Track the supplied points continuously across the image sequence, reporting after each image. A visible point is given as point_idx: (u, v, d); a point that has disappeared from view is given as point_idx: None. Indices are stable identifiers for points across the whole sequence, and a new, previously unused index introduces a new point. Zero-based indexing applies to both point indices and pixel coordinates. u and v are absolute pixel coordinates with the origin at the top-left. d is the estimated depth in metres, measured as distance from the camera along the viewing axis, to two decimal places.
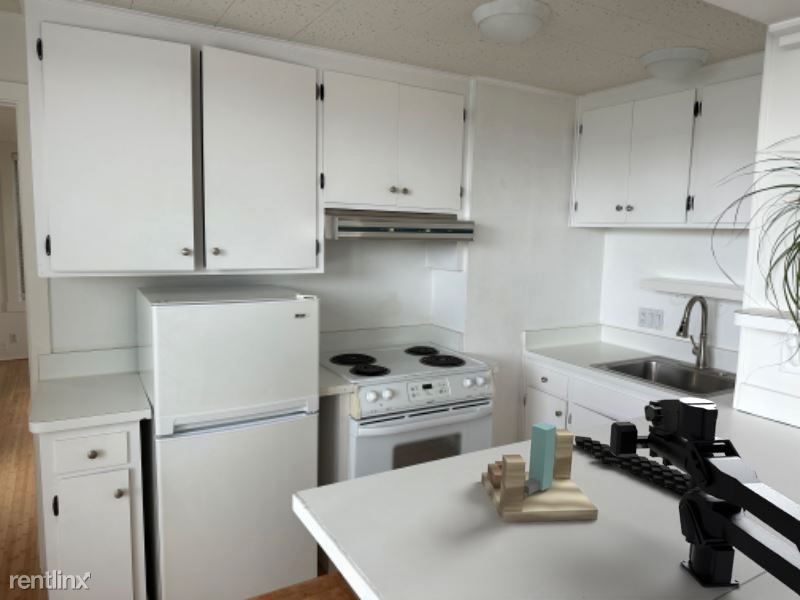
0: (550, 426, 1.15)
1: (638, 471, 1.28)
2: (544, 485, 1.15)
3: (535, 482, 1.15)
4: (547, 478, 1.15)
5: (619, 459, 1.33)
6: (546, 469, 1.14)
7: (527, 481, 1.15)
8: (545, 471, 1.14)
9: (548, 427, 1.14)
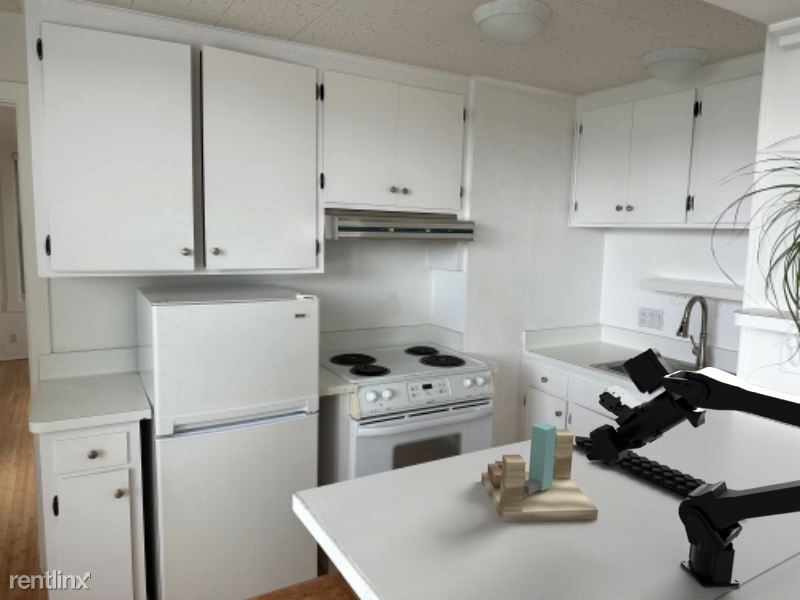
0: (550, 426, 1.15)
1: (638, 471, 1.28)
2: (544, 485, 1.15)
3: (535, 482, 1.15)
4: (547, 478, 1.15)
5: None
6: (546, 469, 1.14)
7: (527, 481, 1.15)
8: (545, 471, 1.14)
9: (548, 427, 1.14)
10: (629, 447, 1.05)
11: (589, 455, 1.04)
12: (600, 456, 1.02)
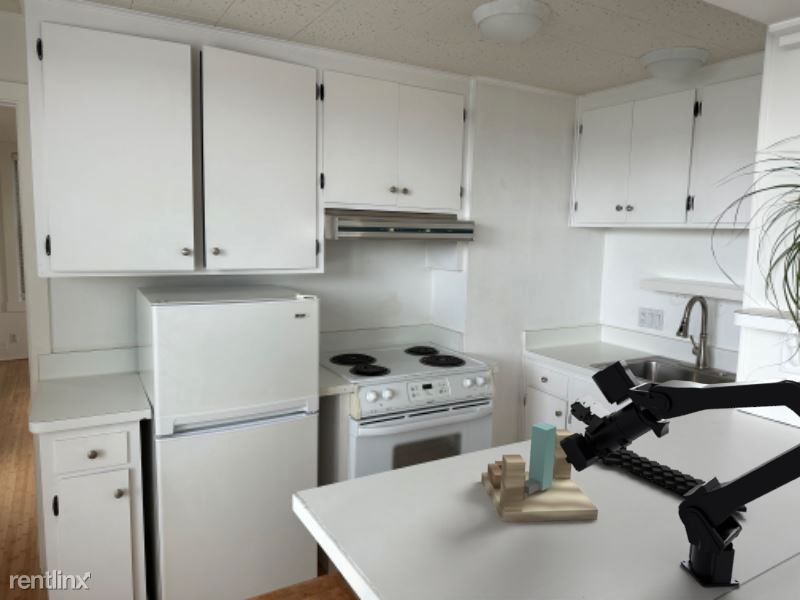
0: (550, 426, 1.15)
1: (639, 472, 1.28)
2: (544, 485, 1.15)
3: (535, 482, 1.15)
4: (547, 478, 1.15)
5: (620, 460, 1.33)
6: (546, 469, 1.14)
7: (527, 481, 1.15)
8: (545, 471, 1.14)
9: (548, 427, 1.14)
10: None
11: (568, 458, 1.11)
12: None
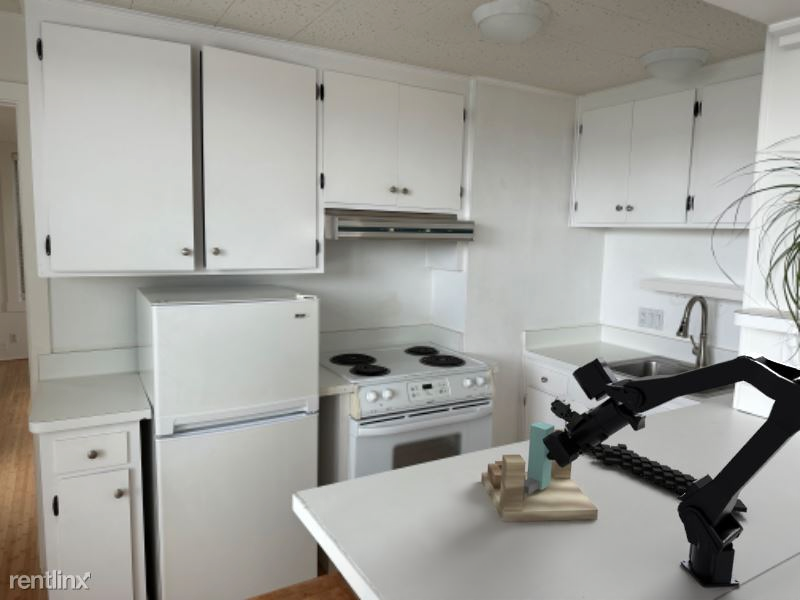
0: (548, 425, 1.15)
1: (639, 471, 1.28)
2: (543, 484, 1.15)
3: (534, 481, 1.15)
4: (546, 477, 1.16)
5: (620, 459, 1.33)
6: (544, 468, 1.15)
7: (526, 481, 1.15)
8: (544, 471, 1.15)
9: (546, 426, 1.15)
10: None
11: (549, 455, 1.14)
12: None
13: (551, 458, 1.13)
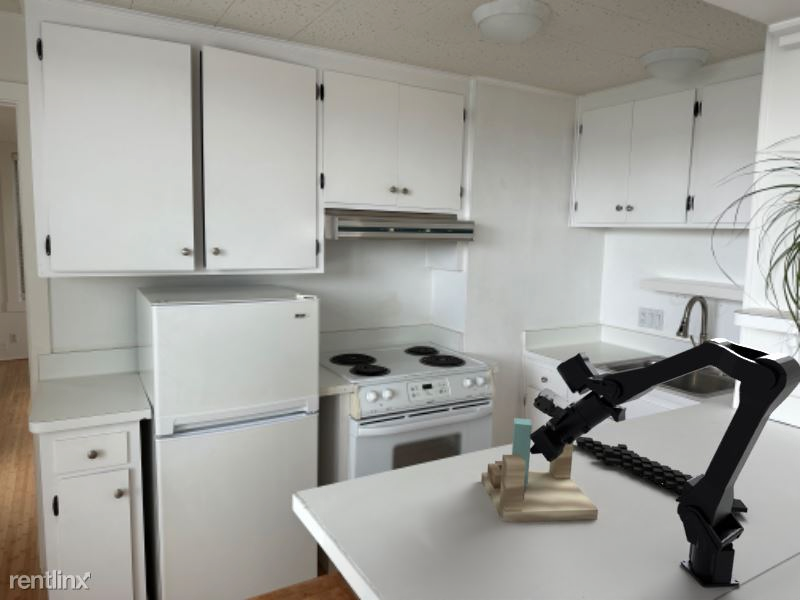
0: (527, 420, 1.18)
1: (639, 472, 1.28)
2: (527, 478, 1.18)
3: None
4: None
5: (620, 460, 1.32)
6: (528, 462, 1.17)
7: None
8: (528, 465, 1.17)
9: (527, 422, 1.17)
10: None
11: (532, 449, 1.16)
12: None
13: (534, 452, 1.16)
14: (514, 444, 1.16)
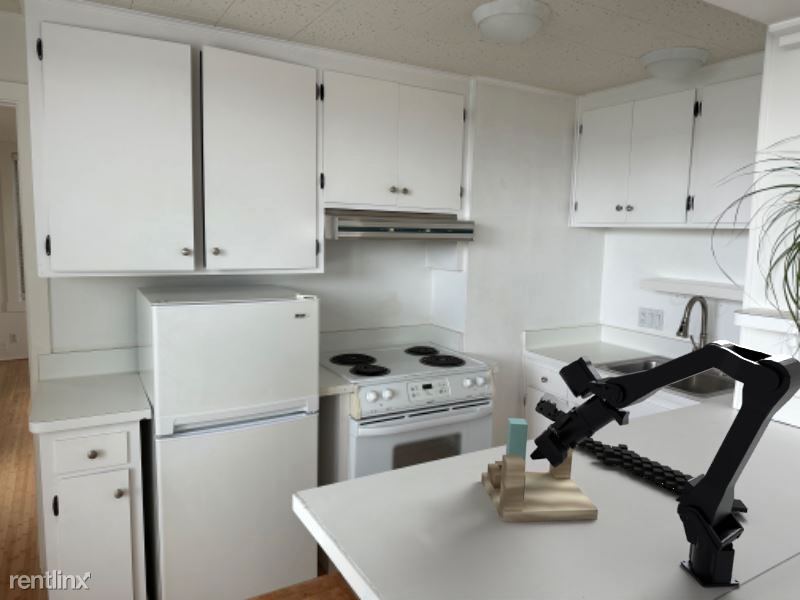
0: (521, 420, 1.18)
1: (640, 472, 1.27)
2: None
3: None
4: None
5: (621, 460, 1.32)
6: None
7: None
8: None
9: (522, 421, 1.17)
10: None
11: (533, 455, 1.15)
12: (544, 455, 1.13)
13: (535, 458, 1.15)
14: (510, 444, 1.16)
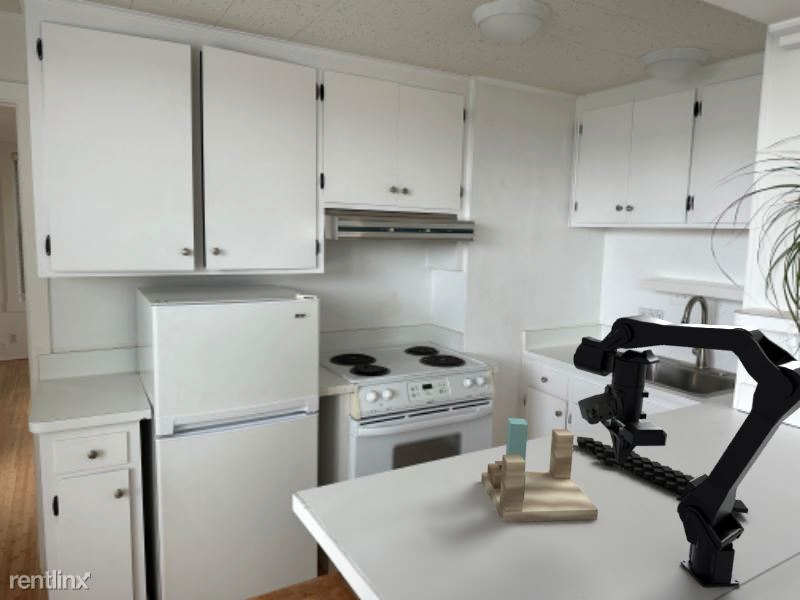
0: (521, 420, 1.18)
1: (640, 472, 1.27)
2: None
3: None
4: None
5: None
6: None
7: None
8: None
9: (522, 421, 1.17)
10: None
11: (621, 459, 1.04)
12: (630, 448, 1.03)
13: (624, 459, 1.04)
14: (510, 444, 1.16)
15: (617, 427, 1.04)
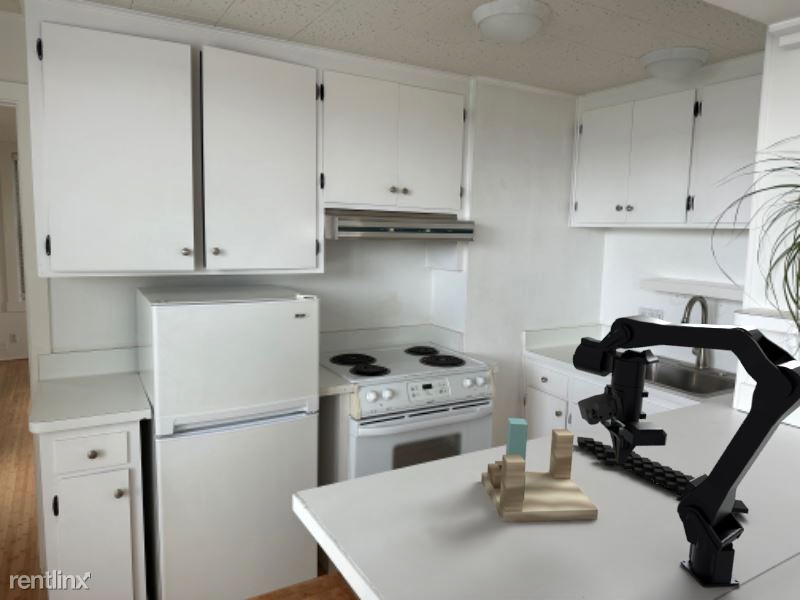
0: (521, 420, 1.18)
1: (640, 472, 1.27)
2: None
3: None
4: None
5: None
6: None
7: None
8: None
9: (522, 421, 1.17)
10: None
11: (621, 459, 1.04)
12: (630, 448, 1.03)
13: (624, 459, 1.04)
14: (510, 444, 1.16)
15: (617, 427, 1.04)
